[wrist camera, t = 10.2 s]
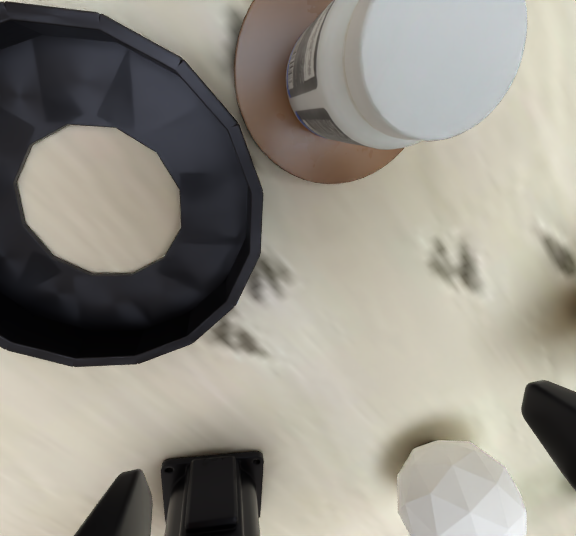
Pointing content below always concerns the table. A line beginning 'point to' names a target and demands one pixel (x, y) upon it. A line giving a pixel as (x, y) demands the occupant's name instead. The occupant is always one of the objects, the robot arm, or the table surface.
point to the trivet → (275, 103)
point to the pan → (175, 156)
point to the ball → (458, 493)
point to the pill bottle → (404, 68)
